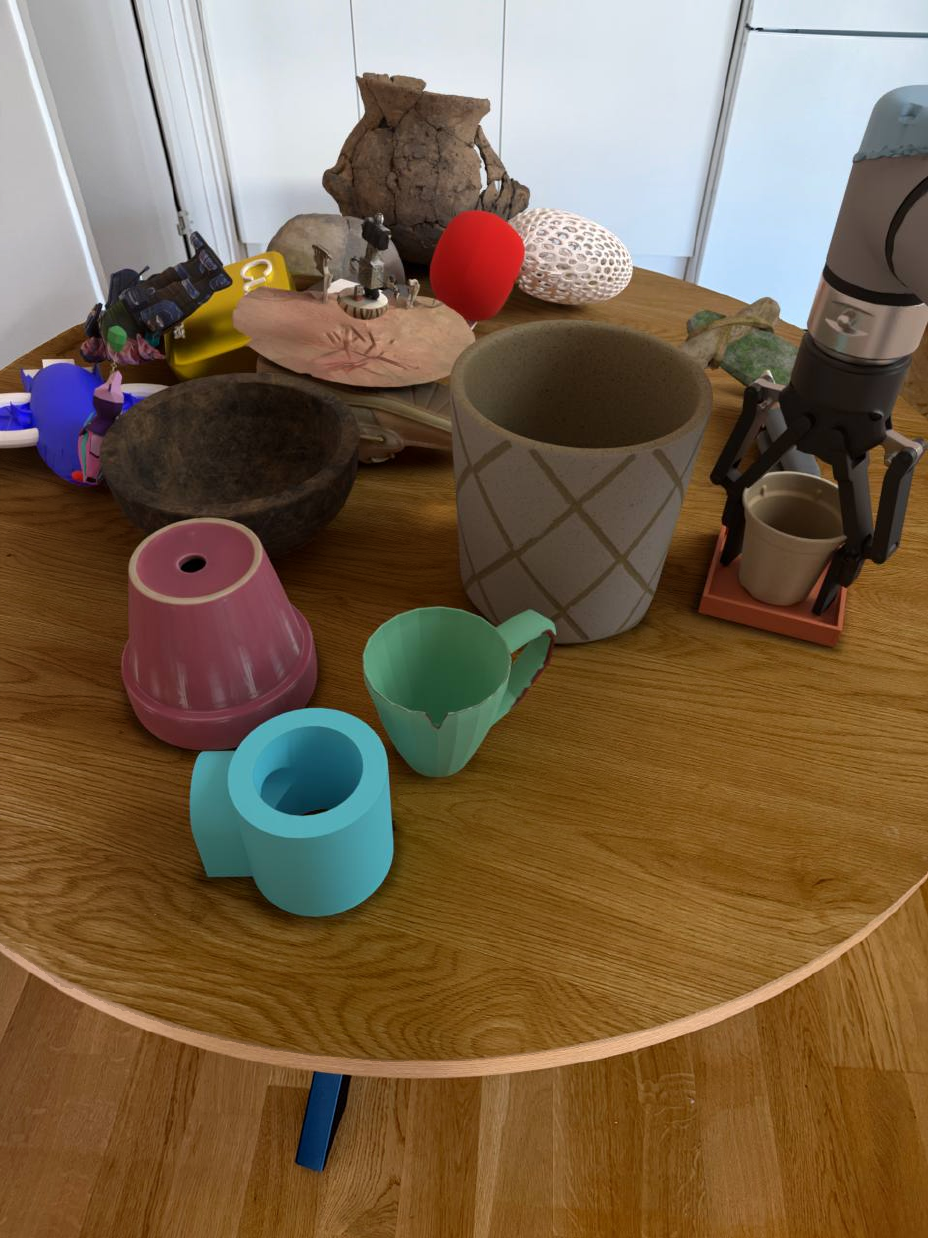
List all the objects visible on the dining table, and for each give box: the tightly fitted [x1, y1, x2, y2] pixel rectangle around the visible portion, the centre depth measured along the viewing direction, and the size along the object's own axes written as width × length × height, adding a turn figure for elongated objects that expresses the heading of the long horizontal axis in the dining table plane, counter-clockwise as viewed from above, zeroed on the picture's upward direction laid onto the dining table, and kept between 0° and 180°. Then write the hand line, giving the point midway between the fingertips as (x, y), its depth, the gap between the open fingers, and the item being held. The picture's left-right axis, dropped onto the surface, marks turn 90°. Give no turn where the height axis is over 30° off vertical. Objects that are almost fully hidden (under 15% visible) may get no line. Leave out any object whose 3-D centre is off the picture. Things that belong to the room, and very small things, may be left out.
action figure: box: [78, 230, 233, 366], centre depth 98 cm, size 20×7×18 cm
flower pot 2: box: [739, 471, 847, 606], centre depth 77 cm, size 9×9×9 cm
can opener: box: [756, 370, 822, 478], centre depth 93 cm, size 19×6×5 cm, turn 176°
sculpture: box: [233, 213, 476, 387], centre depth 89 cm, size 25×24×16 cm
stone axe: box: [676, 296, 799, 388], centre depth 104 cm, size 26×5×30 cm
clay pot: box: [321, 71, 531, 266], centre depth 120 cm, size 25×24×22 cm
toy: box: [78, 326, 128, 486], centre depth 82 cm, size 16×4×15 cm, turn 10°
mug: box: [361, 606, 556, 779], centre depth 64 cm, size 15×10×10 cm
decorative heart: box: [508, 207, 634, 306], centre depth 115 cm, size 18×11×17 cm
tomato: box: [429, 210, 528, 322], centre depth 106 cm, size 12×12×10 cm
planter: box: [449, 319, 714, 645], centre depth 73 cm, size 19×19×20 cm
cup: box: [189, 707, 394, 918], centre depth 57 cm, size 12×10×9 cm
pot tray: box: [697, 524, 848, 648], centre depth 79 cm, size 11×11×2 cm
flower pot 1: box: [120, 518, 318, 751], centre depth 67 cm, size 14×14×13 cm
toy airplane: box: [0, 358, 170, 487], centre depth 93 cm, size 24×25×5 cm
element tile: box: [163, 251, 297, 384], centre depth 103 cm, size 15×15×5 cm
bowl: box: [99, 373, 360, 560], centre depth 81 cm, size 22×22×10 cm
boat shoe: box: [256, 355, 453, 464], centre depth 92 cm, size 9×25×8 cm, turn 78°
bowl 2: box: [265, 212, 406, 288], centre depth 113 cm, size 18×18×8 cm
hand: (775, 580), depth 80 cm, fingers closed on flower pot 2, 8 cm apart
